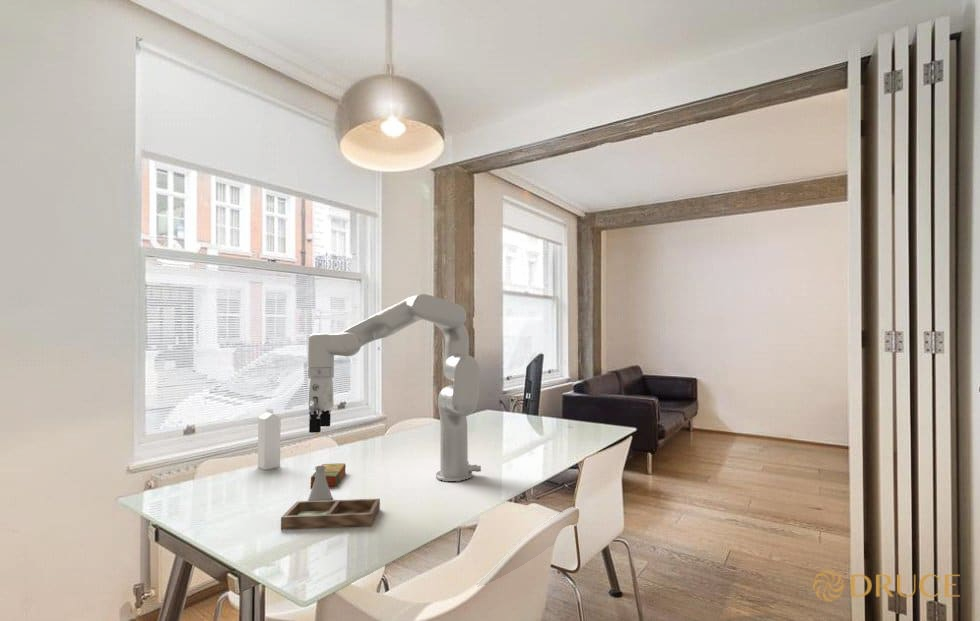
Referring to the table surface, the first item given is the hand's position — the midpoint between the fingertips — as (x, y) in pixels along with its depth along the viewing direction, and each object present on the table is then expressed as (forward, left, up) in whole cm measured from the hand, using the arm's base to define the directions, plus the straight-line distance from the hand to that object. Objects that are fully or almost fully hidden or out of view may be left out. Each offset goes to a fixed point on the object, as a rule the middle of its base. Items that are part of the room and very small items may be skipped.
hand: (320, 429), depth 147 cm
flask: (-1, +1, -21) cm, 21 cm away
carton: (+2, -19, -22) cm, 29 cm away
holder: (-9, +17, -21) cm, 28 cm away
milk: (+30, -39, -21) cm, 54 cm away
